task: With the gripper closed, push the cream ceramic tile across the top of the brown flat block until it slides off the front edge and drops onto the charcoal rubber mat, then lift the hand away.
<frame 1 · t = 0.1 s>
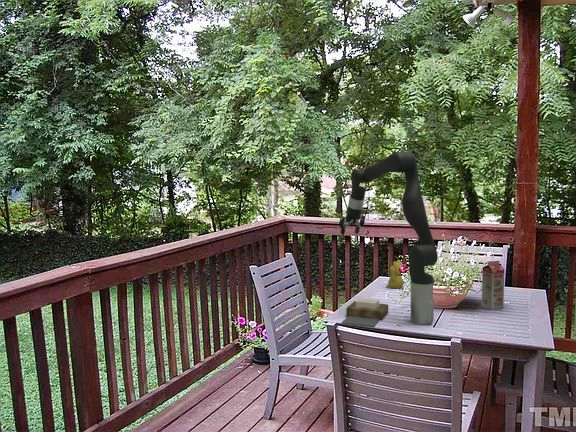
hand: (349, 233, 260), 31 cm above the table, tool tilted 20°, fingers open, 8 cm apart
figurine: (395, 287, 271), on the table
juice carton: (492, 307, 231), on the table
mat: (360, 322, 213), on the table
tile: (367, 303, 222), point 5 cm above the table, touching brown flat block
brown flat block: (367, 314, 223), on the table
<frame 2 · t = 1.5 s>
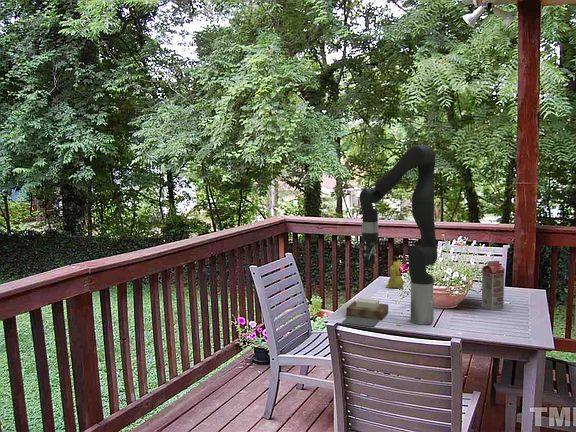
hand: (369, 265, 231), 20 cm above the table, tool pointing down, fingers open, 8 cm apart
nothing on the table moved.
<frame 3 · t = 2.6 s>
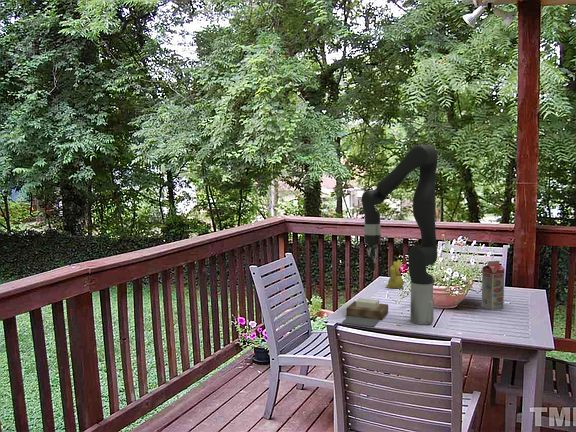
hand: (372, 270, 229), 19 cm above the table, tool pointing down, fingers closed
nothing on the table moved.
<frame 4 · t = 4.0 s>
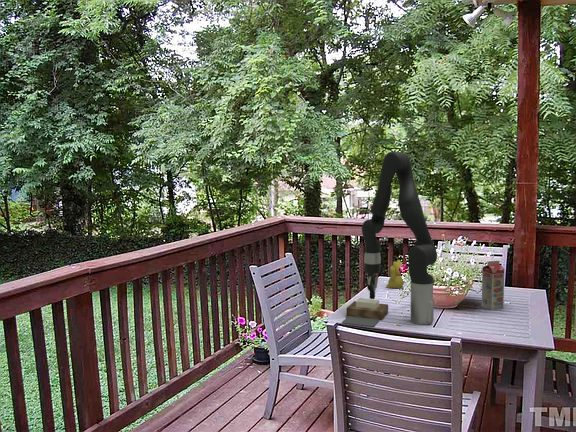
hand: (372, 298, 230), 5 cm above the table, tool pointing down, fingers closed
nothing on the table moved.
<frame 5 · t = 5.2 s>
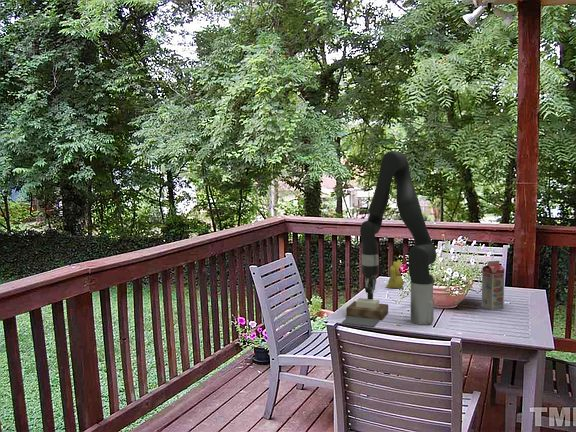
hand: (370, 300, 226), 5 cm above the table, tool pointing down, fingers closed
tile: (367, 303, 222), point 5 cm above the table, touching brown flat block, gripper
everything else where it was.
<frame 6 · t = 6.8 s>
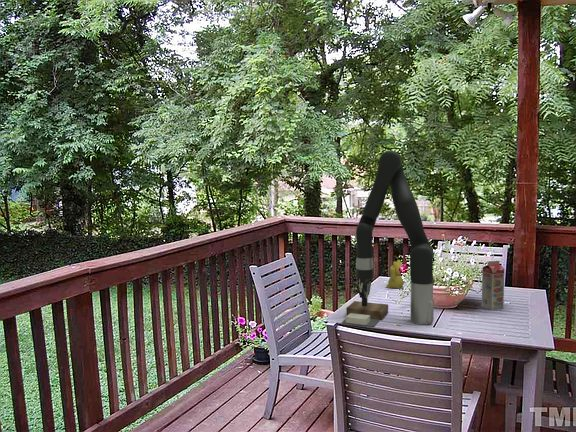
hand: (364, 305, 218), 5 cm above the table, tool pointing down, fingers closed
tile: (357, 318, 212), point 2 cm above the table, tilted 180°, touching mat
everything else where it was.
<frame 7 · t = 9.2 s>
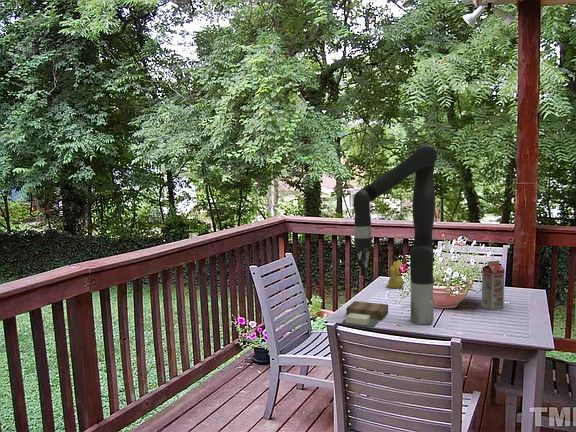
hand: (363, 275, 215), 19 cm above the table, tool pointing down, fingers closed
nothing on the table moved.
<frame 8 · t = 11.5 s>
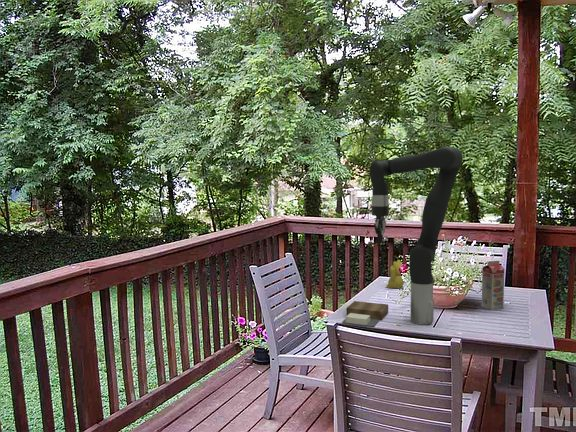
hand: (380, 242, 224), 32 cm above the table, tool pointing down, fingers closed
nothing on the table moved.
at the end: tile inside the target area (1.4 cm from its centre), point 1.7 cm above the table; tile point 1.7 cm above the table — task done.
